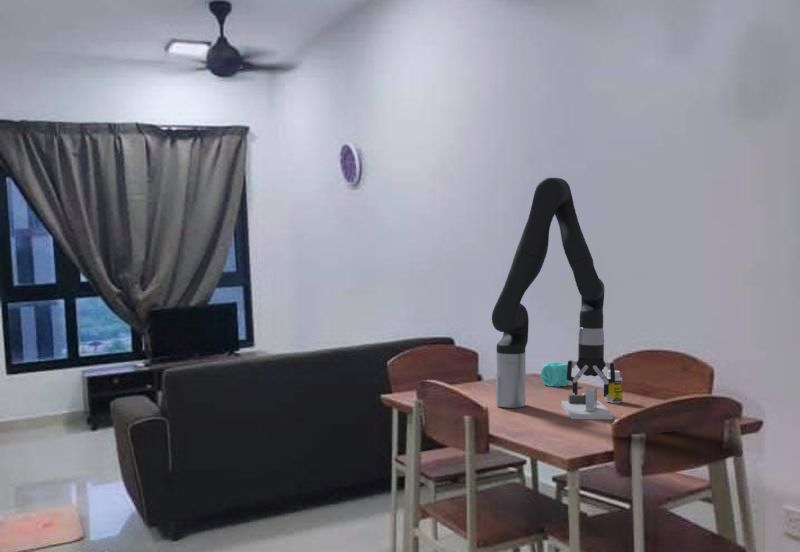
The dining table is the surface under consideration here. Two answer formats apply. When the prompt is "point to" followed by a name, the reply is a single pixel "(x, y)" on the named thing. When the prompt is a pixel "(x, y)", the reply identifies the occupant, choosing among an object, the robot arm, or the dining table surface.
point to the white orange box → (591, 398)
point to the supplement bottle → (614, 389)
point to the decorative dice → (554, 374)
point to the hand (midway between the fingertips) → (590, 395)
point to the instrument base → (584, 408)
